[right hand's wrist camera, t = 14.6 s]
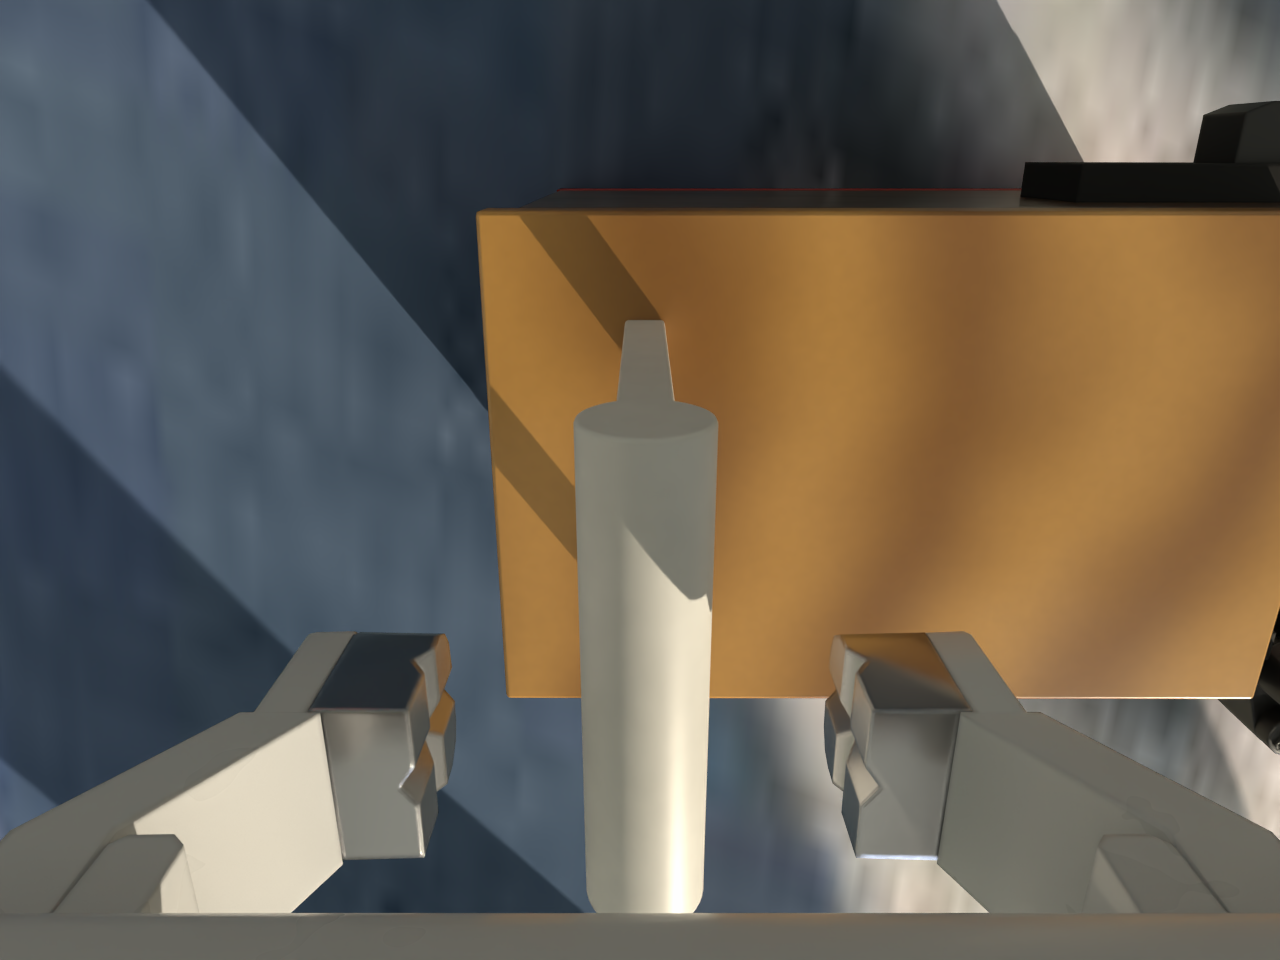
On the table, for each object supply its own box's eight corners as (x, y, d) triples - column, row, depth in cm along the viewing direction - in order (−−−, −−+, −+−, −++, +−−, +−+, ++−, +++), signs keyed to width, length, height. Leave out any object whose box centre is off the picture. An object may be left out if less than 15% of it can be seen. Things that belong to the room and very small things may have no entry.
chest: (570, 511, 28) (537, 674, 19) (560, 188, 24) (513, 206, 16) (1042, 511, 28) (1226, 675, 19) (1099, 188, 24) (1356, 206, 15)
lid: (512, 674, 19) (421, 1033, 11) (483, 207, 16) (324, 259, 8) (1226, 676, 19) (1631, 1037, 11) (1356, 207, 15) (2072, 260, 8)
